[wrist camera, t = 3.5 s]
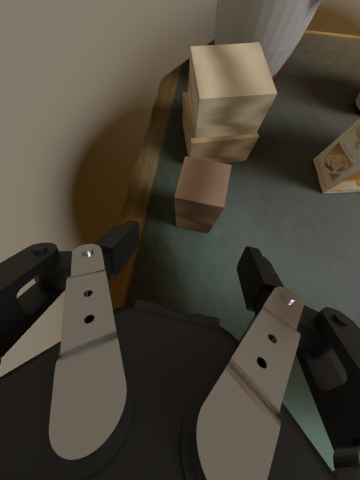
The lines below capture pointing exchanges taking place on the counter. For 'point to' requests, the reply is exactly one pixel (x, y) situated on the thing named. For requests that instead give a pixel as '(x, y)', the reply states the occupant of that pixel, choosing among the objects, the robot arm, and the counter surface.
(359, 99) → the soap bottle
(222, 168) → the walnut post
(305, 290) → the counter surface
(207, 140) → the block bottom
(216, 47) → the block top
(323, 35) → the counter surface
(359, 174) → the coffeecake box
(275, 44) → the citrus juicer
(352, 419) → the robot arm
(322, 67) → the counter surface
